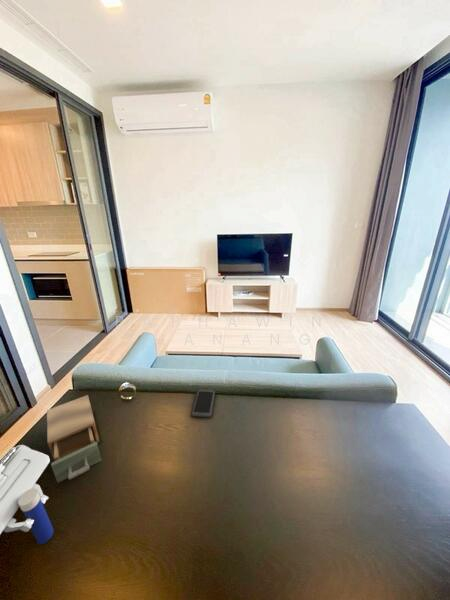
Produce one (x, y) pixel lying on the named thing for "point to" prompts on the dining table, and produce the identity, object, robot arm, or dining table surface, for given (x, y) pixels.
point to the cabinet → (69, 421)
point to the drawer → (75, 455)
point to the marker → (36, 515)
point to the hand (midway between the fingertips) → (38, 514)
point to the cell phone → (203, 403)
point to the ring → (124, 388)
